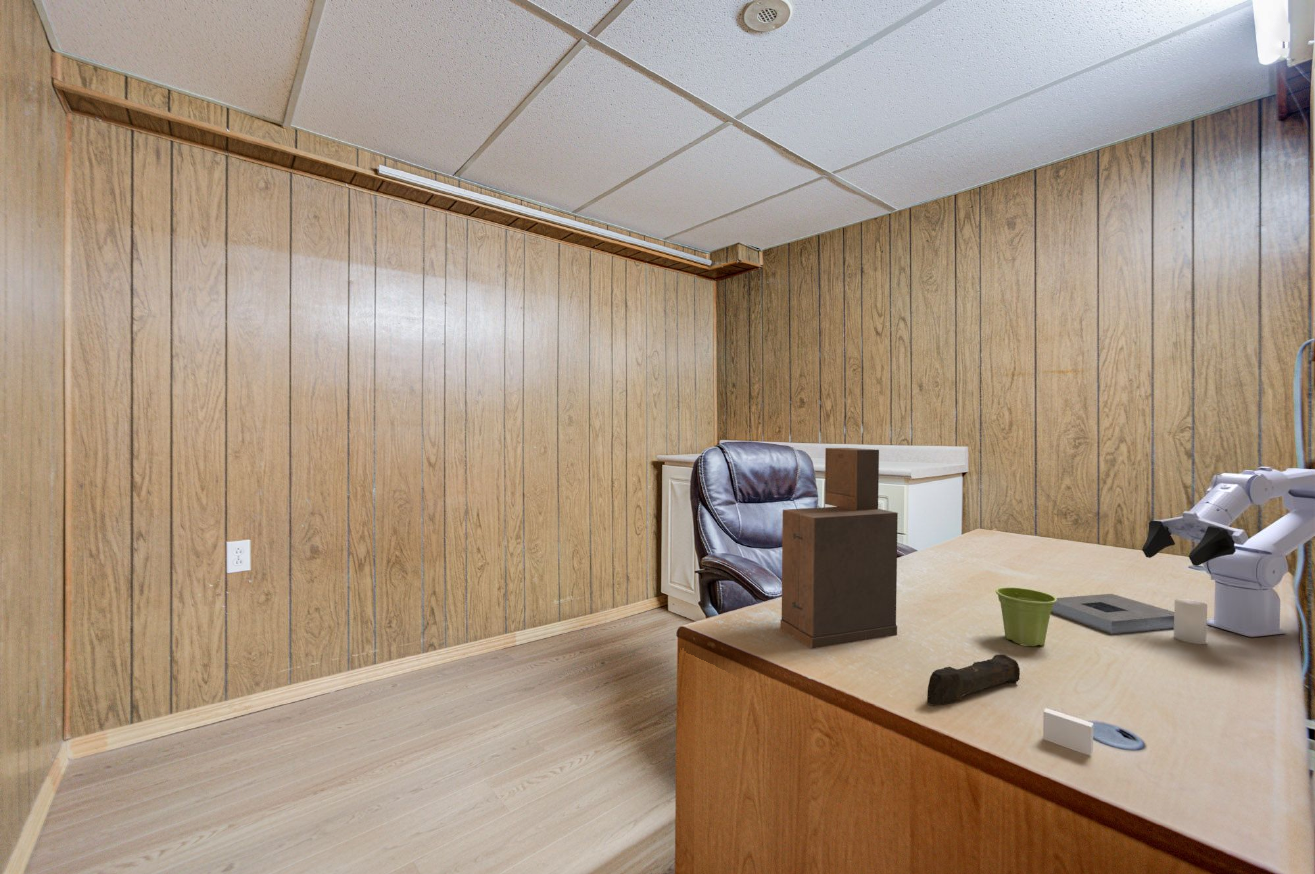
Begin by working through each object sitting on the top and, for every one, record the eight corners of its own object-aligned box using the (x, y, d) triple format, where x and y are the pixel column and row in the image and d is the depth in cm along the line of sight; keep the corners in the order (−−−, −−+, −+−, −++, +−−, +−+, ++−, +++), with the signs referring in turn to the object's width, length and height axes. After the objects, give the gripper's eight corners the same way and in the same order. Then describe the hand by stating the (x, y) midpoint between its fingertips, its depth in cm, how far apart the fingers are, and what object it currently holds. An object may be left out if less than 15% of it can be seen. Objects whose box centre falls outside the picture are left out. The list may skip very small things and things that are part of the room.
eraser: (1091, 756, 66) (1091, 726, 66) (1042, 739, 70) (1043, 711, 70) (1093, 752, 67) (1093, 722, 67) (1045, 736, 71) (1045, 707, 71)
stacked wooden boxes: (847, 611, 118) (849, 447, 117) (897, 635, 104) (899, 450, 104) (769, 621, 111) (771, 448, 110) (812, 648, 98) (814, 451, 97)
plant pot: (994, 627, 108) (995, 584, 108) (1053, 637, 104) (1054, 591, 103) (995, 643, 100) (995, 596, 100) (1058, 655, 96) (1059, 605, 95)
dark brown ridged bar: (995, 674, 88) (995, 646, 88) (1021, 685, 85) (1021, 655, 85) (911, 699, 80) (911, 667, 80) (935, 712, 77) (935, 679, 77)
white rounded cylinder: (1185, 634, 106) (1186, 598, 105) (1212, 643, 101) (1213, 605, 101) (1167, 636, 105) (1168, 599, 105) (1194, 645, 100) (1195, 607, 100)
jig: (1111, 604, 123) (1111, 593, 123) (1183, 627, 109) (1183, 614, 109) (1045, 610, 119) (1045, 598, 119) (1111, 634, 105) (1111, 621, 105)
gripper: (1160, 495, 112) (1118, 533, 109) (1252, 501, 98) (1206, 546, 95) (1175, 523, 113) (1133, 562, 110) (1268, 534, 99) (1223, 579, 96)
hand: (1168, 557), depth 103 cm, fingers open, 7 cm apart
